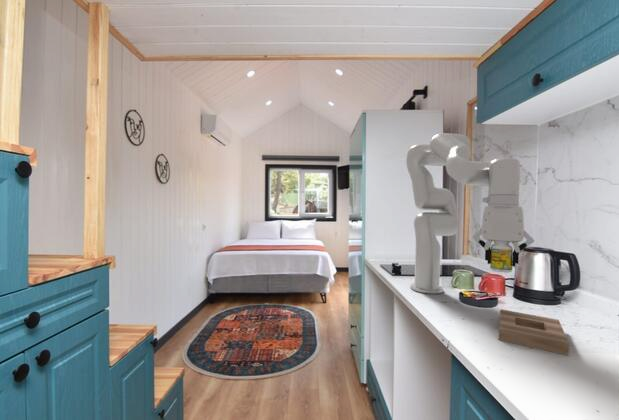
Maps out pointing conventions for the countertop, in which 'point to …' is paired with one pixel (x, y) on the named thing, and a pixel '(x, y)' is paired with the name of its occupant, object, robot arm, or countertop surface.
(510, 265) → the supplement bottle
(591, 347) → the countertop surface
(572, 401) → the countertop surface
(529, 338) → the bottle caddy
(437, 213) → the robot arm
